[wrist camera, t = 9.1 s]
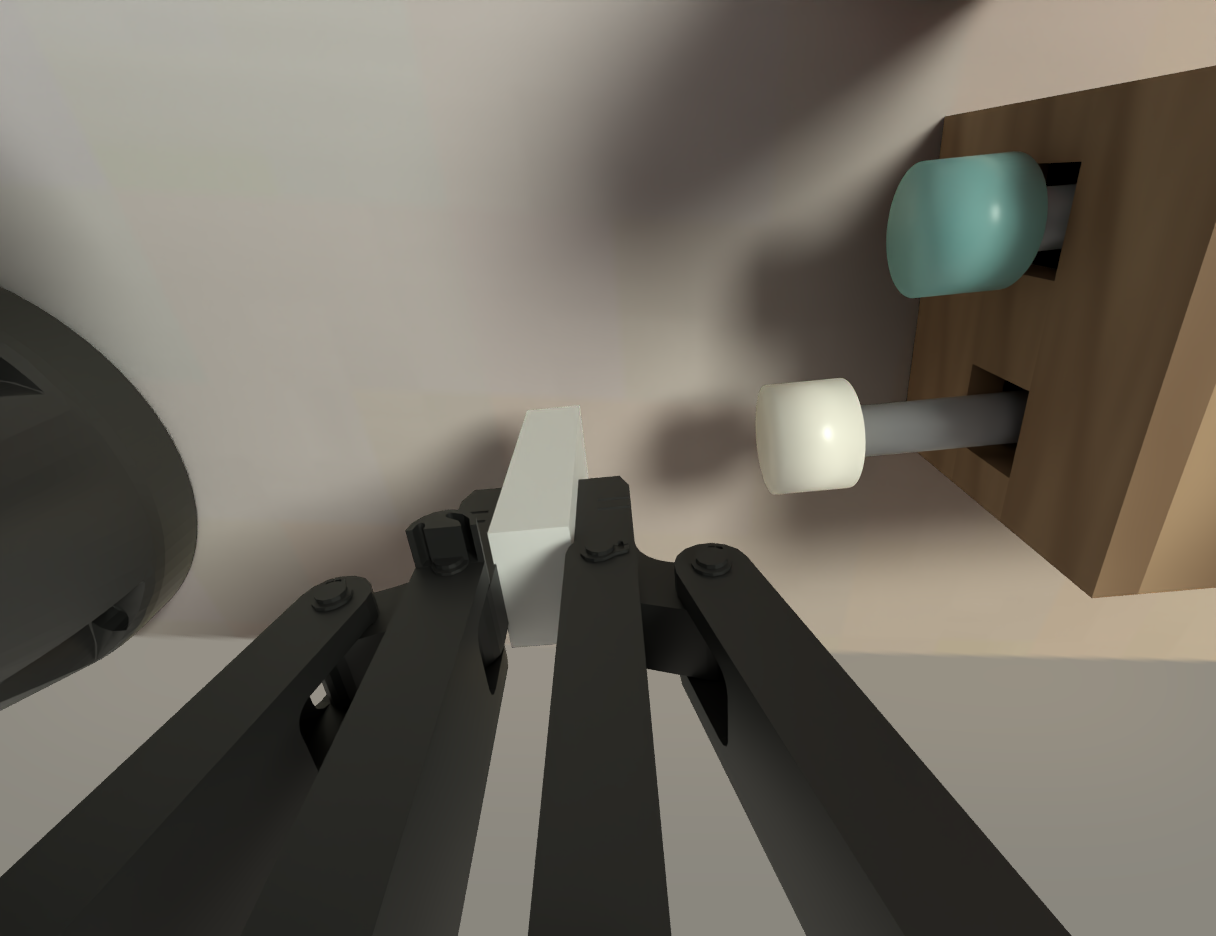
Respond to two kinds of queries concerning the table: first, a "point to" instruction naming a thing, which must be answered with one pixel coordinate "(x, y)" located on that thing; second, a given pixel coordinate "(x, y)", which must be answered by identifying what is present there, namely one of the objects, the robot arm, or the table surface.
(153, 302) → the table surface
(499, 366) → the table surface
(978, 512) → the table surface
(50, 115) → the table surface
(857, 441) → the cream knob
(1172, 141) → the console
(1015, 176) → the teal knob
